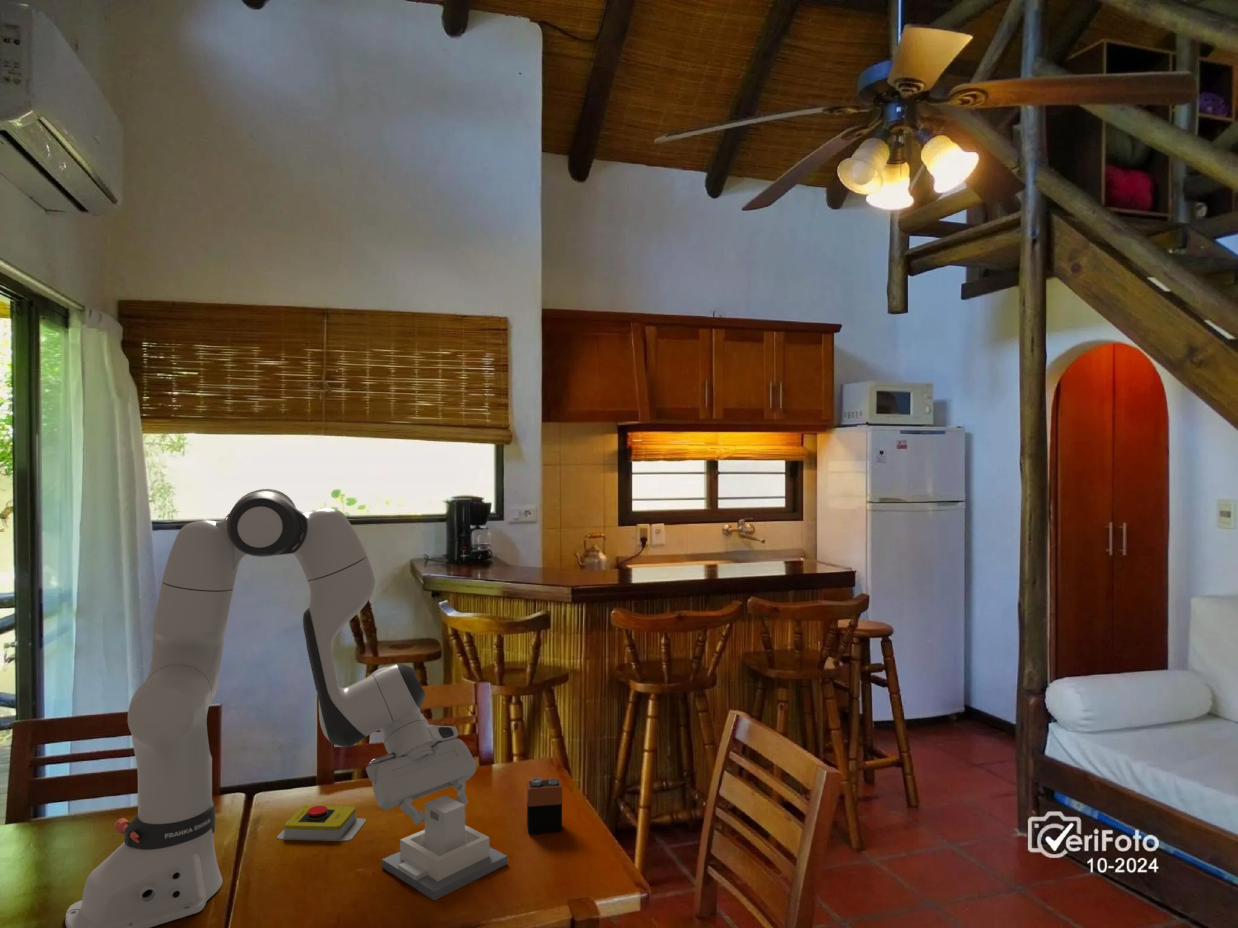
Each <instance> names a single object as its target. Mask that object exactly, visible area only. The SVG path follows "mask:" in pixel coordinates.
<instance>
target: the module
mask: <svg viewBox="0 0 1238 928" xmlns="http://www.w3.org/2000/svg"><path fill="white" fill-rule="evenodd" d="M424 815H425V818H426V819H425V821H424V830H425V848H426V849H428V850H429V851H431V852H433V853H435V854H436V855H438V856H441V855H443V854H445V853H447V852H450V851H452V850H454V849H456V848H458V847H461V846H463V845H465V825H466V805H464V804H462V803H460V802H458V801H456V800H455V799H454V798H451V797H450V796H447V795H442V796H440V797H437V798H435V799H432V800H430V801H427V802H425V803H424Z"/></svg>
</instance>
